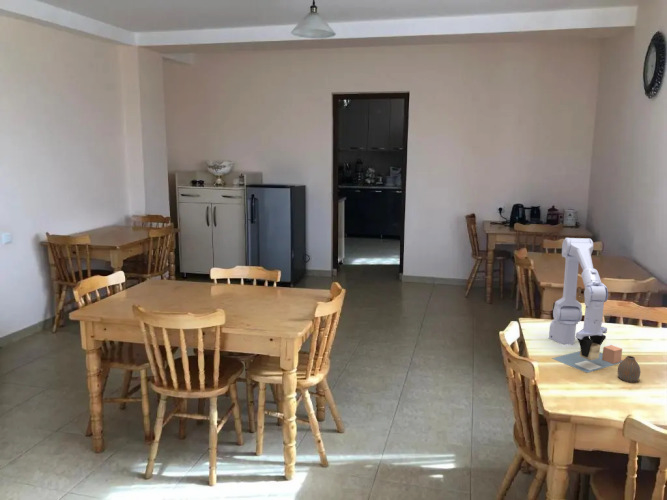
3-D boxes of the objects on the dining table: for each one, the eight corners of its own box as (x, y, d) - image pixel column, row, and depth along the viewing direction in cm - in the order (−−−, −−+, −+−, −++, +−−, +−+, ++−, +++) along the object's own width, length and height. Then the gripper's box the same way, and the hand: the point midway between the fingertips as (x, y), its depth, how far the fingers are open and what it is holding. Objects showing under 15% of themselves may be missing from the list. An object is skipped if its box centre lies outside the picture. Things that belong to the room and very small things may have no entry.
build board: (551, 360, 211) (551, 357, 211) (589, 350, 222) (589, 348, 221) (586, 374, 198) (587, 372, 198) (625, 363, 209) (625, 361, 209)
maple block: (579, 356, 204) (581, 343, 203) (587, 354, 207) (589, 341, 206) (590, 360, 201) (592, 347, 200) (598, 358, 203) (600, 345, 202)
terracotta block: (602, 359, 210) (603, 346, 209) (609, 357, 212) (611, 344, 211) (613, 363, 206) (614, 350, 205) (620, 361, 209) (622, 348, 208)
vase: (611, 378, 195) (614, 354, 194) (626, 375, 198) (629, 352, 196) (628, 386, 189) (631, 361, 187) (643, 383, 192) (647, 359, 190)
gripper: (590, 324, 194) (586, 362, 196) (616, 318, 201) (612, 354, 204) (572, 318, 200) (568, 355, 202) (598, 313, 207) (594, 348, 210)
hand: (589, 354), depth 203 cm, fingers closed on maple block, 4 cm apart
